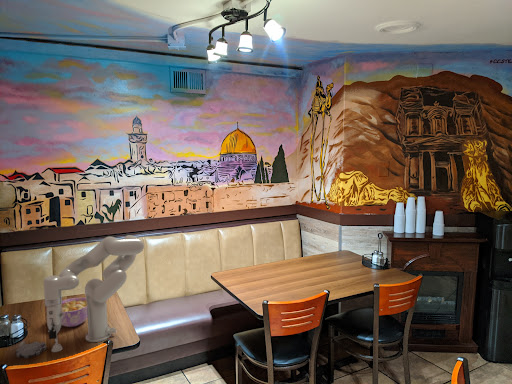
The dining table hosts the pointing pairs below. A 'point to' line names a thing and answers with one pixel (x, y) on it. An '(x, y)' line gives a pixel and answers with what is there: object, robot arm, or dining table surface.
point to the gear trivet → (31, 349)
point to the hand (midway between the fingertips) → (55, 333)
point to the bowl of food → (74, 311)
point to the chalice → (57, 346)
